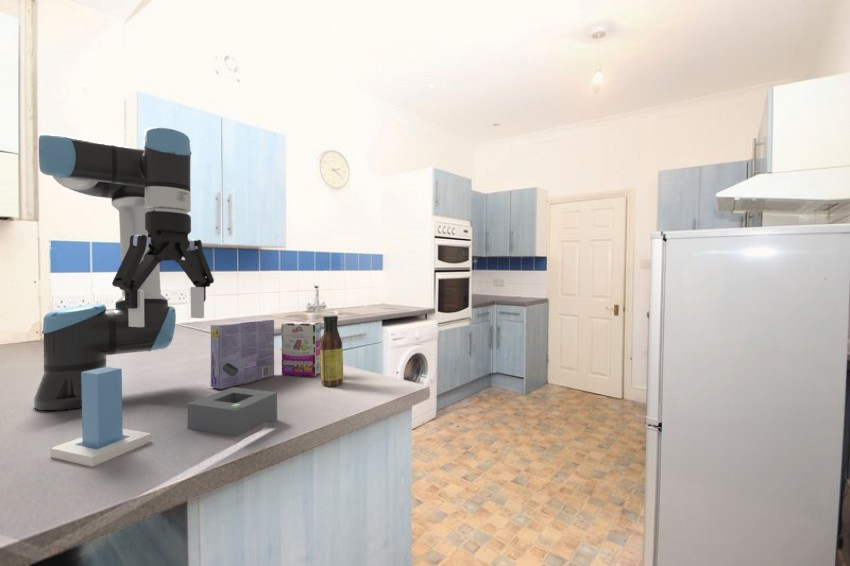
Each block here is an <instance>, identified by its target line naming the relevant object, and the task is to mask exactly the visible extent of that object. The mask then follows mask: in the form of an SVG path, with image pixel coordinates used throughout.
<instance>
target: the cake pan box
mask: <svg viewBox="0 0 850 566" xmlns="http://www.w3.org/2000/svg"><path fill="white" fill-rule="evenodd" d="M274 376H275V320H274V319H260V320H259V319H257V320H250V321H249V320H247V321H238V322H237V321H235V322H228V323H227V322H226V323H219V324H218V323H216V324H210V387H211V388H213V389H217V390H219V391H223V390H226V389H229V388H232V387H237V386H240V385H245V384H249V383H253V382H256V381H259V380H264V379H266V378H271V377H274Z"/></svg>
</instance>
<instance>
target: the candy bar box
mask: <svg viewBox="0 0 850 566" xmlns="http://www.w3.org/2000/svg"><path fill="white" fill-rule="evenodd" d="M321 327H322V323H321V322H319V321H317V322H315V321H286V322H281V375H282V376H287V375H289V376H291V377H307V376H309V378H311V377H312V378H315V377H317V376H318V374H319V375H321V354H320V349H321V343H320V342H321V337H322V333H321V332H322V331H321V330H322V328H321ZM289 376H288V377H289Z"/></svg>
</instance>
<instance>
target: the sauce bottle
mask: <svg viewBox="0 0 850 566" xmlns="http://www.w3.org/2000/svg"><path fill="white" fill-rule="evenodd" d="M322 319H323V322H324V323H323V324H324V326H323V328H324V329H323V333H322V335H321V342H320V343H321V349H320V354H321V373H320V380H321V385H322V386H324V387H329V386H330V387H331V386H332V387H337V386H340V385H342V384H343V381H344V355H343V354H344V353H343V341H342V338H341V336H340V335H341V334H340V331H339V330H338V320H339V316H338V315H337V314H325V315H323V318H322Z"/></svg>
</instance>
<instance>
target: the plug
mask: <svg viewBox="0 0 850 566" xmlns="http://www.w3.org/2000/svg"><path fill="white" fill-rule="evenodd" d="M122 369H123V368H119V367H118V368H117V367H110V366H109V367H108V366H107V367H103V368H98V369H93V370H89V371H84V372H81V384H82V407H81V426H82V428H81V429H82V431H81V433H82V435H81V436H82V440H83V447H87V448H92V449H100V448H102V447H105V446H107V445H110V444H112V443H115V442H118V441H120V440H123V429H124V428H123V377H122V376H123V373H122V372H123V371H122Z"/></svg>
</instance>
